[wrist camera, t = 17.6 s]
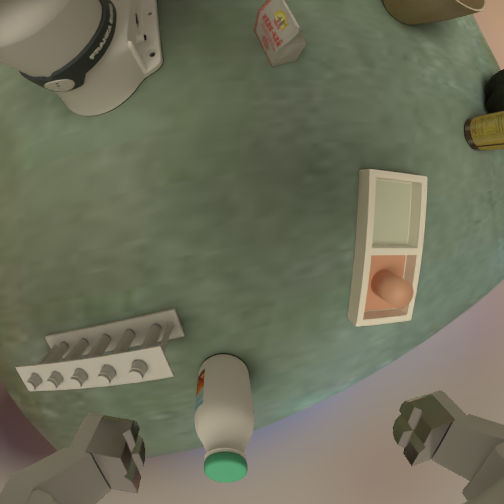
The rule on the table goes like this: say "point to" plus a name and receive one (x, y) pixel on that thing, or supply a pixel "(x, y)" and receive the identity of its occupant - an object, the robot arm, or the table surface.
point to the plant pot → (431, 9)
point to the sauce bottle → (486, 131)
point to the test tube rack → (119, 361)
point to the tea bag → (279, 33)
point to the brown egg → (392, 289)
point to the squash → (496, 93)
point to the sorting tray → (386, 241)
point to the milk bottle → (224, 416)
